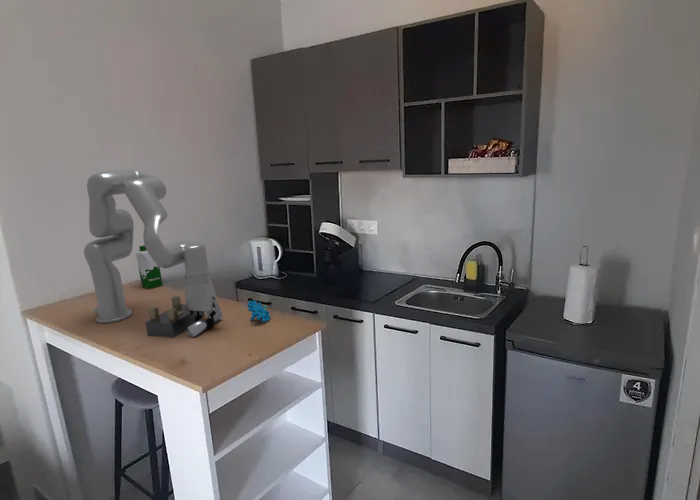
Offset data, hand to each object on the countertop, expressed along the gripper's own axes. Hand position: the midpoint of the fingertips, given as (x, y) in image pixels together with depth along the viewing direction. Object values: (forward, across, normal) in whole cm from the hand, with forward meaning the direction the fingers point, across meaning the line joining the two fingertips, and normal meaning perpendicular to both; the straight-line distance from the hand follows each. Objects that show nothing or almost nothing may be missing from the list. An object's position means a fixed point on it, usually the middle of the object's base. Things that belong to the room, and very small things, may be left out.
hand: (205, 326), depth 157 cm
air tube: (-2, 0, 0) cm, 2 cm away
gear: (+1, +17, +10) cm, 19 cm away
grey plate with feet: (0, -12, 0) cm, 12 cm away
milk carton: (+1, -59, +42) cm, 73 cm away
